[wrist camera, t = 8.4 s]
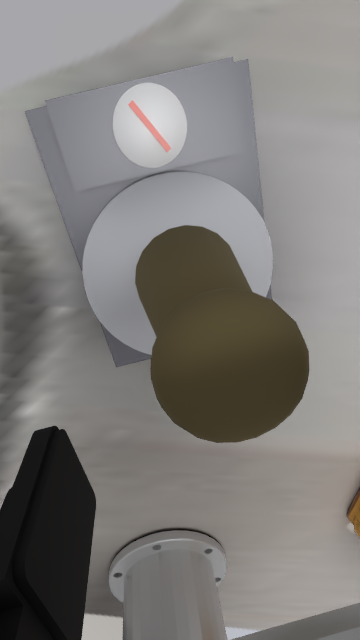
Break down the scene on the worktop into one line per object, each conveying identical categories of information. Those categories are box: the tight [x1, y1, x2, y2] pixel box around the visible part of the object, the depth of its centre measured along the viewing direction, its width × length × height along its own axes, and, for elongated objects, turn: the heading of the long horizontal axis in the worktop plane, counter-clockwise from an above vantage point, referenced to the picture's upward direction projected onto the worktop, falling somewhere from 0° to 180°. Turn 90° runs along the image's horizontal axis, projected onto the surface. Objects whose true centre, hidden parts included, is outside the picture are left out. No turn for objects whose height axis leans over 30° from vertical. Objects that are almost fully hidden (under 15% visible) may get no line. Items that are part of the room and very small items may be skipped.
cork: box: [135, 225, 309, 443], centre depth 15 cm, size 6×6×11 cm
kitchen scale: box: [25, 57, 273, 367], centre depth 19 cm, size 15×11×5 cm
